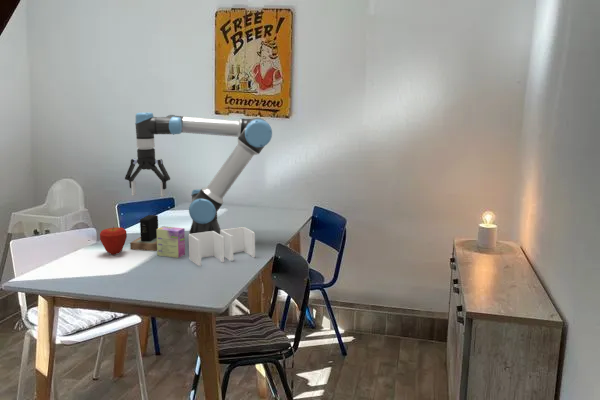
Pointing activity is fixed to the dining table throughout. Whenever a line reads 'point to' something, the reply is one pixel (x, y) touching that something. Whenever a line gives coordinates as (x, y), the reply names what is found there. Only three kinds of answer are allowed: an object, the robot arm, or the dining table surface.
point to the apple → (113, 239)
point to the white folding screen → (221, 244)
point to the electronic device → (149, 227)
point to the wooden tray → (144, 245)
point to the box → (171, 242)
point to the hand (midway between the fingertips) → (148, 196)
